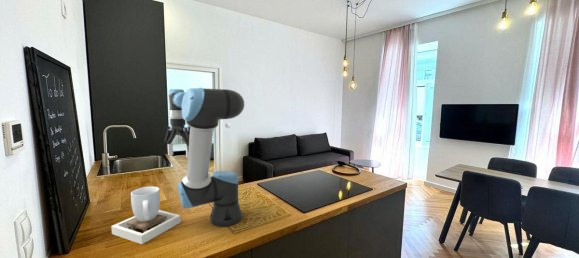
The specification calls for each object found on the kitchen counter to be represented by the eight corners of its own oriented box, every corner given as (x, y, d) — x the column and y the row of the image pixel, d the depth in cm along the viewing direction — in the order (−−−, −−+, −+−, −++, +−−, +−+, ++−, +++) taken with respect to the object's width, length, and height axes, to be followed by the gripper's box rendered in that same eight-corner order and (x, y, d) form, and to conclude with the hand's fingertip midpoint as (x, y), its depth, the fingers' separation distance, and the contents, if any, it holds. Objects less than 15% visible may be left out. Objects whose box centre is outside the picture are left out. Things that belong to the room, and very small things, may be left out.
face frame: (180, 222, 111) (180, 215, 110) (141, 244, 93) (141, 236, 93) (152, 214, 118) (152, 208, 118) (111, 233, 101) (111, 226, 100)
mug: (162, 224, 101) (160, 195, 99) (131, 231, 95) (129, 200, 94) (160, 211, 113) (158, 184, 112) (133, 216, 108) (131, 189, 106)
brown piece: (167, 224, 109) (166, 216, 108) (144, 236, 98) (144, 227, 98) (150, 219, 113) (150, 212, 112) (127, 231, 103) (126, 222, 102)
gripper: (200, 118, 126) (202, 157, 128) (167, 117, 136) (169, 153, 138) (189, 119, 119) (191, 160, 121) (155, 117, 129) (157, 155, 131)
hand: (179, 156), depth 130 cm, fingers open, 13 cm apart
